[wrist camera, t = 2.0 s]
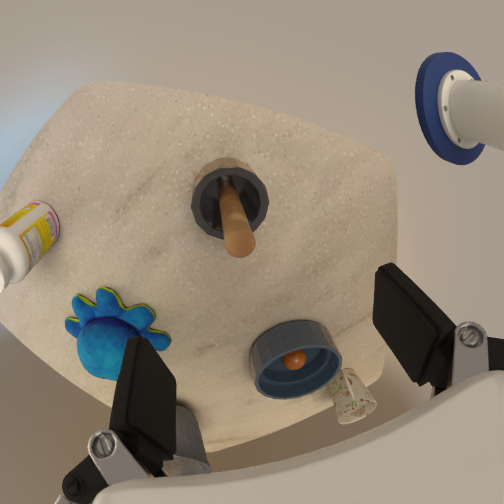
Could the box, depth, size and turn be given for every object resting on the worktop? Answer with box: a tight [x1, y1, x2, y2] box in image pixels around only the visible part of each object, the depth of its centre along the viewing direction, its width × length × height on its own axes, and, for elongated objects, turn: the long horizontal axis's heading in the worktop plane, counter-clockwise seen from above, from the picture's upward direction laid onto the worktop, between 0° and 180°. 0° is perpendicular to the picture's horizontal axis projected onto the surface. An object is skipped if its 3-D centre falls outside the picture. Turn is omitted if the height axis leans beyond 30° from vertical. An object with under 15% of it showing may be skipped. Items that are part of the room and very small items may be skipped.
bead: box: [282, 349, 306, 370], centre depth 42 cm, size 4×4×4 cm
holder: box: [191, 158, 269, 240], centre depth 28 cm, size 7×7×6 cm
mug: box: [329, 369, 377, 424], centre depth 47 cm, size 8×13×10 cm, turn 25°
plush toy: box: [65, 287, 171, 381], centre depth 34 cm, size 17×17×8 cm
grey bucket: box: [163, 405, 212, 477], centre depth 42 cm, size 18×18×15 cm
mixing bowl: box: [250, 320, 342, 399], centre depth 42 cm, size 14×14×6 cm
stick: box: [218, 181, 255, 258], centre depth 24 cm, size 2×2×14 cm
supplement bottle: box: [0, 201, 59, 293], centre depth 23 cm, size 7×7×13 cm
